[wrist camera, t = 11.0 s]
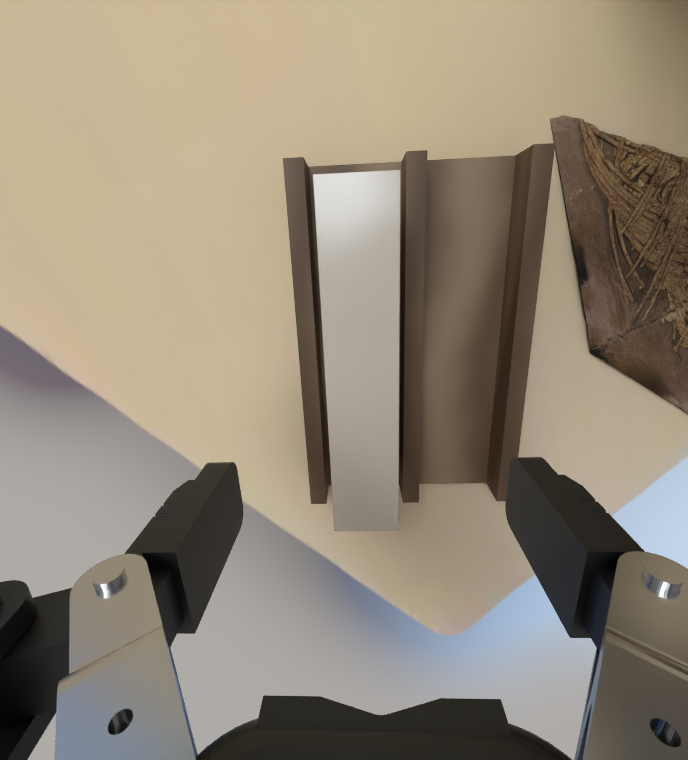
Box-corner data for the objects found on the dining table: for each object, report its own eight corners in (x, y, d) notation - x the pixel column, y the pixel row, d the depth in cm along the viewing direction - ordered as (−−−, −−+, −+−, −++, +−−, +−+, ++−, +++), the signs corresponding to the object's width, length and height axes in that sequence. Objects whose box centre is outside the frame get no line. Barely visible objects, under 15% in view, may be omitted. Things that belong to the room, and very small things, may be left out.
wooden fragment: (774, 381, 29) (789, 385, 28) (634, 449, 31) (643, 455, 30) (656, 46, 23) (669, 37, 22) (492, 161, 25) (498, 157, 24)
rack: (528, 158, 25) (555, 143, 21) (496, 475, 32) (512, 500, 29) (292, 171, 25) (283, 158, 22) (315, 478, 33) (311, 503, 29)
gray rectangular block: (386, 196, 25) (400, 169, 17) (388, 462, 31) (398, 530, 23) (326, 199, 25) (312, 174, 17) (339, 463, 31) (334, 531, 24)
